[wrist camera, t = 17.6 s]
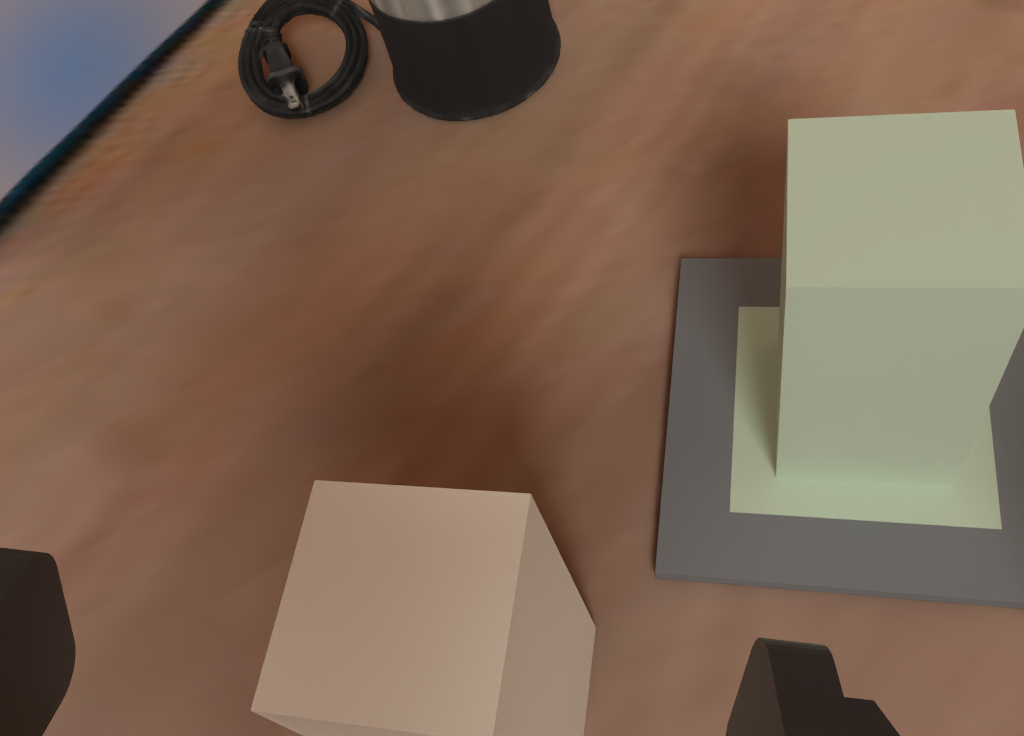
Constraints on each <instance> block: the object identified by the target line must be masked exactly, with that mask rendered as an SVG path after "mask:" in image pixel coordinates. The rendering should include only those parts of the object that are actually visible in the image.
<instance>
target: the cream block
mask: <svg viewBox="0 0 1024 736" xmlns="http://www.w3.org/2000/svg"><path fill="white" fill-rule="evenodd" d="M595 629H596V627H595V625H594V623H593V621H592V618H591V616H590V614H589V612H588V610H587V608H586V606H585V604H584V602H583V600H582V598H581V596H580V594H579V592H578V590H577V588H576V586H575V584H574V581H573V579H572V577H571V575H570V573H569V571H568V569H567V567H566V565H565V563H564V561H563V559H562V557H561V555H560V553H559V551H558V549H557V547H556V544H555V542H554V540H553V538H552V536H551V534H550V532H549V530H548V528H547V526H546V524H545V522H544V520H543V518H542V516H541V514H540V512H539V509H538V507H537V505H536V503H535V501H534V499H533V497H532V495H531V494H529V493H513V492H497V491H481V490H465V489H449V488H433V487H417V486H401V485H385V484H369V483H353V482H337V481H321V480H315V481H314V484H313V488H312V492H311V495H310V499H309V502H308V506H307V510H306V513H305V517H304V520H303V524H302V528H301V531H300V535H299V538H298V542H297V545H296V549H295V553H294V556H293V560H292V563H291V567H290V571H289V574H288V578H287V581H286V585H285V589H284V592H283V596H282V599H281V603H280V606H279V610H278V614H277V617H276V621H275V624H274V628H273V632H272V635H271V639H270V642H269V646H268V650H267V653H266V657H265V660H264V664H263V668H262V671H261V675H260V678H259V682H258V685H257V689H256V693H255V696H254V700H253V703H252V707H251V711H252V712H254V713H256V714H258V715H261V716H263V717H265V718H267V719H269V720H271V721H273V722H275V723H277V724H280V725H282V726H284V727H286V728H288V729H290V730H292V731H294V732H297V733H299V734H301V735H303V736H584V727H585V718H586V709H587V701H588V692H589V683H590V674H591V665H592V656H593V647H594V638H595Z"/></svg>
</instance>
